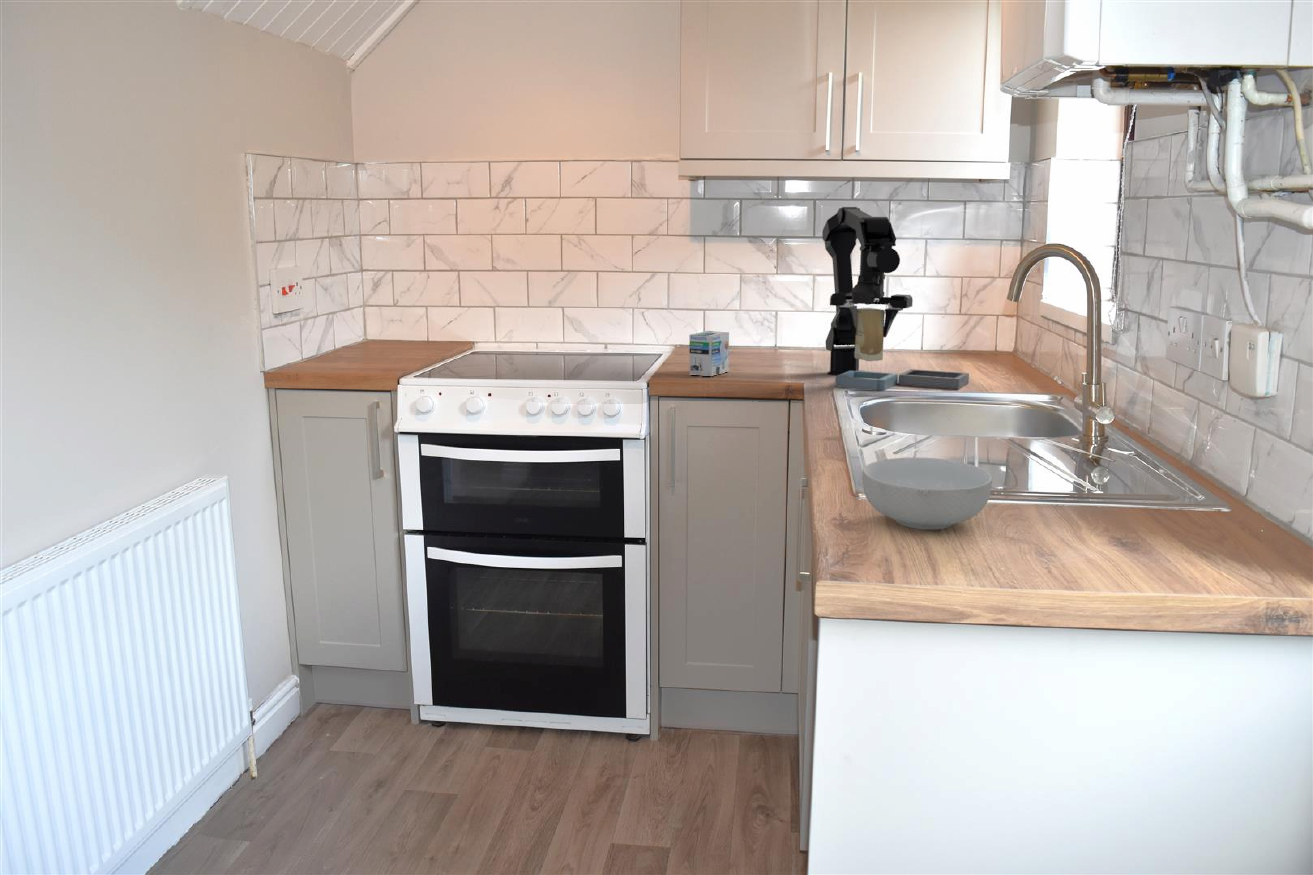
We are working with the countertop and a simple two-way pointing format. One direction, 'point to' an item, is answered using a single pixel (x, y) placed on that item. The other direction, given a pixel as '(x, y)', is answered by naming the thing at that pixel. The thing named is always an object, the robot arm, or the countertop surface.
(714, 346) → the light bulb box
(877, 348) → the skincare box
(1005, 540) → the countertop surface
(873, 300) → the robot arm
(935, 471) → the cereal bowl
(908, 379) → the metal collar
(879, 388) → the slate tray
